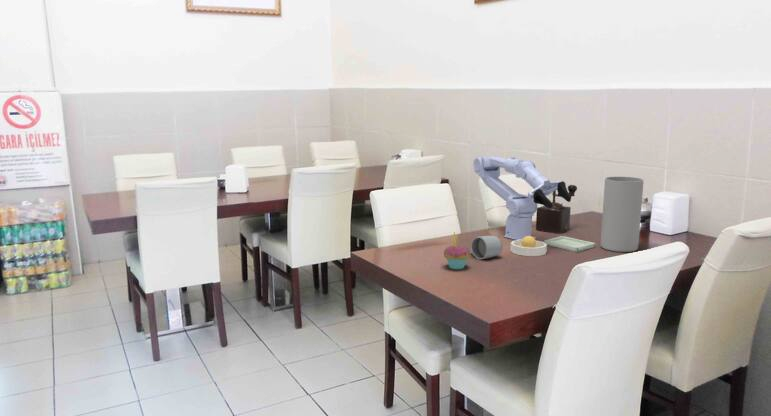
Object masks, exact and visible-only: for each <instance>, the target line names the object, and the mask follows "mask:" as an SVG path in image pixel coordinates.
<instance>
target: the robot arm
mask: <svg viewBox="0 0 771 416" xmlns="http://www.w3.org/2000/svg"><path fill="white" fill-rule="evenodd" d="M501 168H503V169H504V172H507V173H509V174H513V175H515V177H516V178H518V179H519V178H520V179H522V180H524V181H525V182H526V183H527V184H528V185H529V186H530V187H531V188H532V189H531V191H528V192H527V195H526V194H522V193H521V194H520V193H519V192H517V191H516V190H515V189H514V188H512V187H511V186H510V185H508V184H507V183H506V182H505V181H503V180H502V179H501V178H499V177H500V176H501ZM473 170H474V173H475V174H476V175H478V176H480V178H481V180H482V181H483V183H484V184H485V186H486V187H488V188H489V189H490V190H491V191H492V192H494V194H497V196H498V197H500V198H501V199H502V200H503V201H505V202H506V203H505V208H506V209H507V210H508V212H509V213H510V214H509V215H508V216H507V217H506V220H505V235H503V237H504V238H507V239H511V240H514V241H515V240H522V239H523V238H524V237H526V236H532V237H533V238H534V239H535V240H536V239H537V237H536V236H533V235H532V228H533V217H534V216H535V213H537V208H538V205H541V206H546V207H548V208H552V202H553V201H551V199H549V198H548V196H549V195H552V193H553V192H554V191H555V190H556V192H557V195H558V196H560V198H562V199H564V200H565V201H566V202H568V203H571V200H572V197H571V196H570V195H569V191H568V188H567V184H566V182H565V181H564V180H560V181H556V180H555V181H550V178H549V179H548V178H546V177H545V176H544V175H543V174H542V173H541V172H540V171H539V170H537V168H536V164H535V162H533V161H532V160H527V161H524V160H523V159H522V158H521V159H517V158H516V157H515V156H510V157H508V158H507V159H506V158H503V157H501V156H499V155H492V156H476V157H475V158H474V160H473Z"/></svg>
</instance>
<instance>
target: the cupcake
mask: <svg viewBox="0 0 771 416" xmlns="http://www.w3.org/2000/svg"><path fill="white" fill-rule="evenodd" d="M452 236H453V245H449V246H447V247H446V248H445V249H444V250H443V256H444V258H445V259H446V262H447V264H448V267H449V268H450V269H452V270H462V269H464V268H465V265H466V263H467V262H468V259H469V258H470V257H471V250H470V249H468V248H467V247H465V246H464V245H460V244H457V240H456V239H457V237H456V233H455V231H453V235H452Z"/></svg>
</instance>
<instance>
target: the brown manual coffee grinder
mask: <svg viewBox="0 0 771 416" xmlns="http://www.w3.org/2000/svg"><path fill="white" fill-rule="evenodd" d="M577 190H578V186H576V185H574V184H570V185H568V186H567V191H568V193H569V195H570V196H571V198H572V197H575V193H576V191H577ZM551 195H552V201H551V202H552V208H548V207H546V206H544V205H541V206H539V207H538V206H537V211H536V219H535V223H536V224H535V231H538V232H544V233H552V234H559V235H560V234H562V233H566V232H567V231H569V230H570V229H571V228H570V227H571V226H570V225H571V206H566V205H565V206H564V205H563V203H560V202H556V197H558V198H559V197H560V196H558V193H557V190H555V191H554V192H552V193H551ZM560 198H561V197H560Z"/></svg>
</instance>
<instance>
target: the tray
mask: <svg viewBox="0 0 771 416" xmlns="http://www.w3.org/2000/svg"><path fill="white" fill-rule="evenodd" d="M543 242H544V243H546V244H547V246H550V247H553V248H554V247H555V248H557V249H558V248H559V249H562V250H567V251H570V252H573V253H579V252H582V251H583V252H584V251H586V250H591V249H594V248H596V243H595V242H592V241H588V240H587V241H586V240H581V239H578V238H573V237H569V236H564V235H561V236H557V237H553V238H548V239H545V240H544V241H543Z"/></svg>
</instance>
